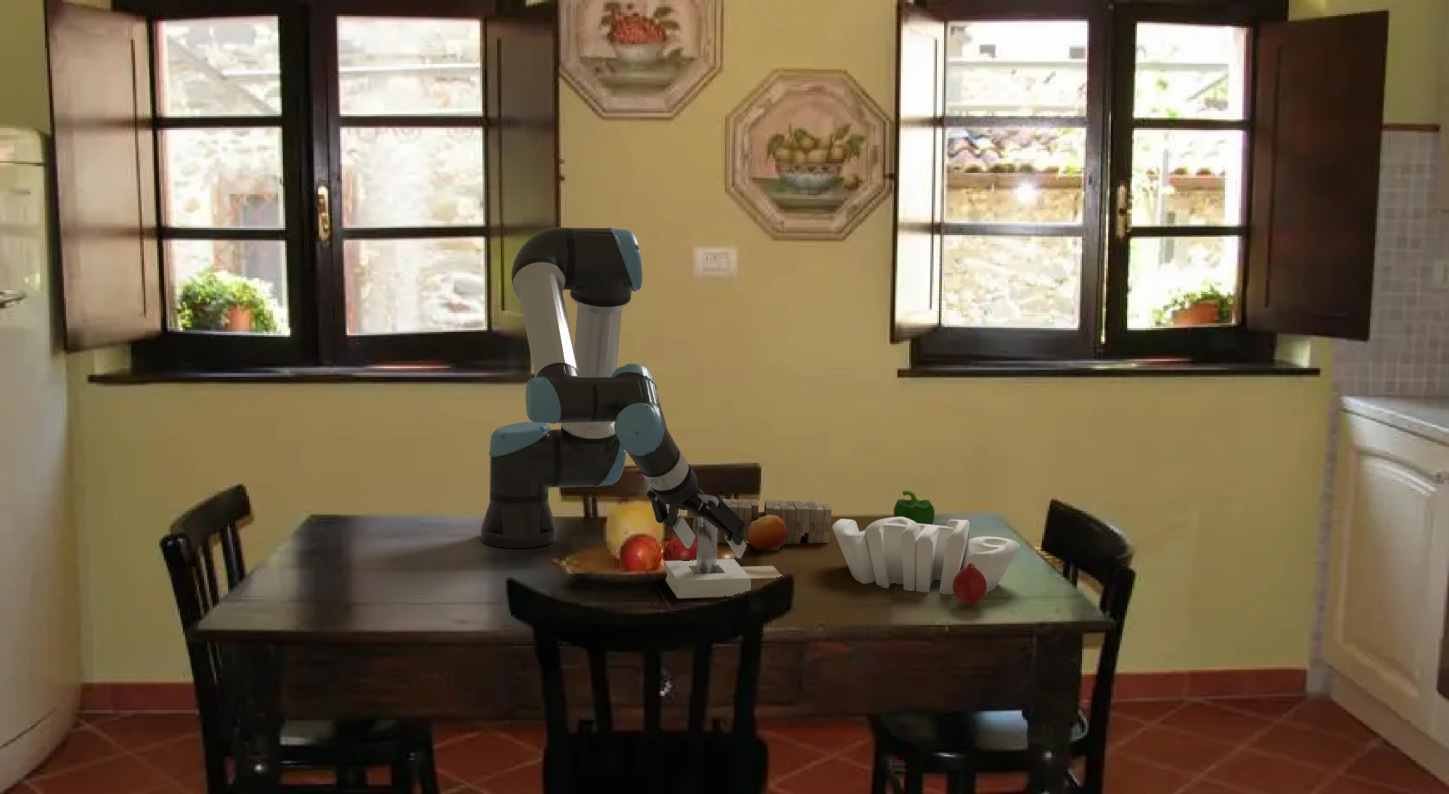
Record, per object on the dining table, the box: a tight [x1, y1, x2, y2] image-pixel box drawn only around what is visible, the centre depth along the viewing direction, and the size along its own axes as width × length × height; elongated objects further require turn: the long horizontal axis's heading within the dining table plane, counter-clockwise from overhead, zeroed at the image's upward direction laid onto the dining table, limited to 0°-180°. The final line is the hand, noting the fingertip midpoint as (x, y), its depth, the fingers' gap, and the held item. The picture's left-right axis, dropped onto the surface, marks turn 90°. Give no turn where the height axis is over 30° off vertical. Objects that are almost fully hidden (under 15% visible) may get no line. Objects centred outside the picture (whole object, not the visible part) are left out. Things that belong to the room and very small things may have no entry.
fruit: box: [747, 515, 787, 552], centre depth 276 cm, size 8×8×8 cm
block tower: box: [686, 498, 833, 545], centre depth 284 cm, size 8×8×29 cm
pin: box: [696, 517, 718, 574], centre depth 247 cm, size 4×4×13 cm
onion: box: [953, 563, 987, 608], centre depth 241 cm, size 6×6×8 cm
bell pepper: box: [893, 490, 936, 525], centre depth 289 cm, size 8×8×10 cm
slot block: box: [663, 558, 752, 599], centre depth 248 cm, size 13×13×4 cm
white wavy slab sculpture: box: [831, 516, 1021, 596], centre depth 257 cm, size 35×16×11 cm, turn 71°
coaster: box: [741, 565, 783, 580], centre depth 258 cm, size 8×8×1 cm
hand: (716, 546), depth 249 cm, fingers open, 10 cm apart
